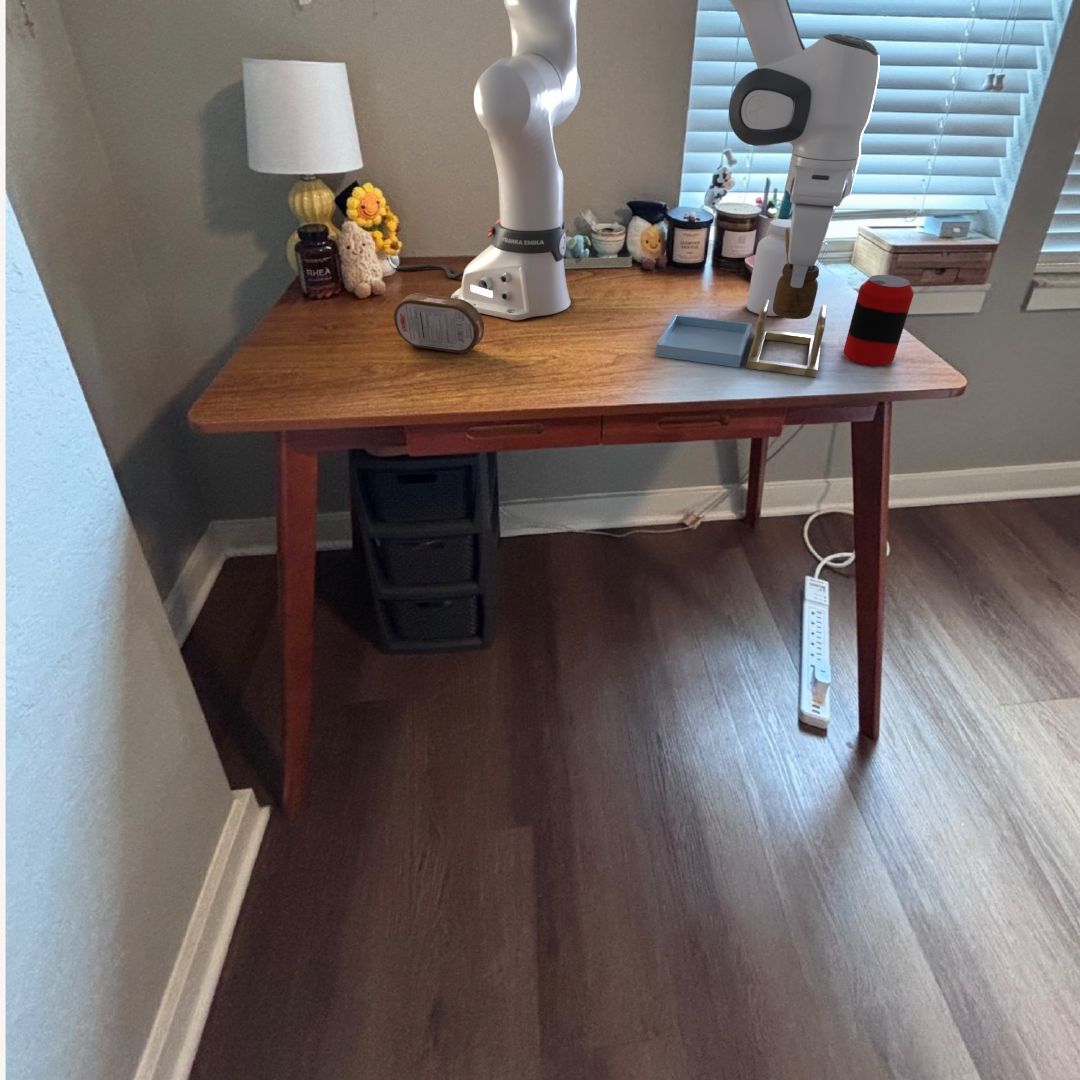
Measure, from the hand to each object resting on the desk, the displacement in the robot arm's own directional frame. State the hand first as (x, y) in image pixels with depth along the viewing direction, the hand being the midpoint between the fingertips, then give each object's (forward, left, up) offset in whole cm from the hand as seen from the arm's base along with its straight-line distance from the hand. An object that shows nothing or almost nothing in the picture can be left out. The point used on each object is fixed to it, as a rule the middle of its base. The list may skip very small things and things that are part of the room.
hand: (797, 279), depth 108 cm
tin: (-53, -16, -12) cm, 57 cm away
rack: (0, 0, -12) cm, 12 cm away
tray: (-12, 0, -12) cm, 17 cm away
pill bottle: (-4, +20, -12) cm, 24 cm away
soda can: (+13, +3, -12) cm, 18 cm away
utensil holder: (0, 0, -5) cm, 5 cm away
